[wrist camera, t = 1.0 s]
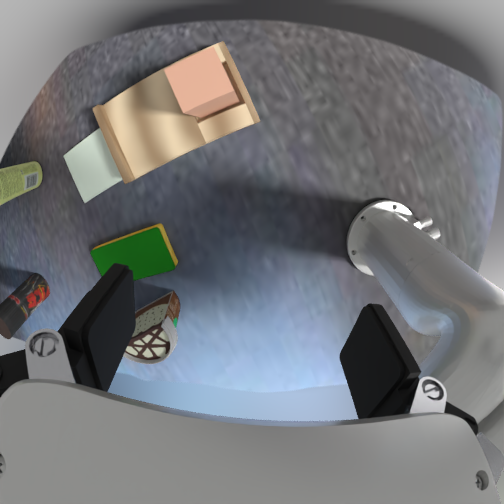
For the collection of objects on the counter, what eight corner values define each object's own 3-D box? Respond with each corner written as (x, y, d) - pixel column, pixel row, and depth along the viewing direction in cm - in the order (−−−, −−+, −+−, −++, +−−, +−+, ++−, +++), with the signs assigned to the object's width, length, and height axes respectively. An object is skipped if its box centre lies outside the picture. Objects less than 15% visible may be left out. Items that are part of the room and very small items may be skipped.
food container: (152, 335, 49) (137, 373, 40) (131, 313, 47) (111, 349, 38) (201, 312, 46) (191, 353, 37) (180, 286, 44) (164, 324, 35)
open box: (225, 47, 29) (222, 37, 25) (259, 121, 34) (260, 120, 29) (107, 109, 32) (92, 108, 28) (138, 178, 37) (125, 184, 33)
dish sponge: (179, 262, 43) (175, 269, 41) (113, 280, 44) (107, 288, 42) (162, 221, 40) (157, 227, 38) (95, 245, 42) (89, 251, 39)
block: (224, 68, 29) (213, 46, 20) (239, 102, 31) (234, 90, 22) (187, 84, 30) (163, 69, 21) (202, 118, 32) (183, 113, 23)
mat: (104, 125, 33) (102, 125, 32) (127, 176, 36) (125, 177, 36) (65, 155, 34) (63, 155, 34) (86, 202, 38) (84, 203, 37)
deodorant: (30, 268, 43) (-12, 307, 30) (49, 280, 44) (8, 323, 31) (31, 289, 46) (-7, 328, 32) (49, 301, 47) (13, 344, 33)
